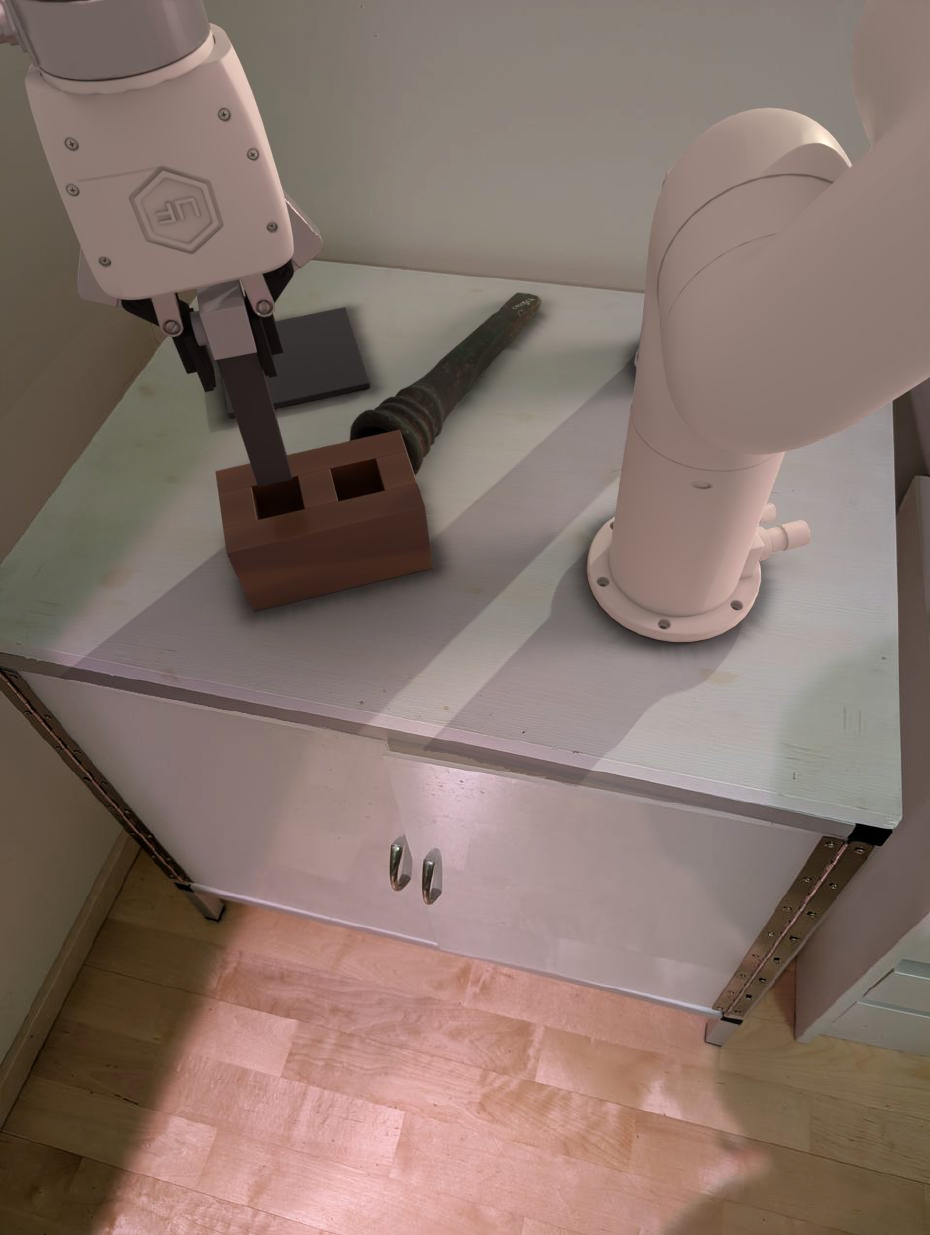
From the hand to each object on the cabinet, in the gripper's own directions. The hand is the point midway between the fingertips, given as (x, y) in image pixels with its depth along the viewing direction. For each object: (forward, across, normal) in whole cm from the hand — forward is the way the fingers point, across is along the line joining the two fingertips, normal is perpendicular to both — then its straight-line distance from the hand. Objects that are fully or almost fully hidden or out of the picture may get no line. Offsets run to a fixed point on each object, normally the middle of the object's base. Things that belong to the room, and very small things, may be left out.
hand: (238, 367), depth 50 cm
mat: (+18, +2, +24) cm, 30 cm away
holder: (+18, +2, 0) cm, 19 cm away
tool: (+19, +16, +16) cm, 30 cm away
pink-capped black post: (+9, 0, 0) cm, 9 cm away
